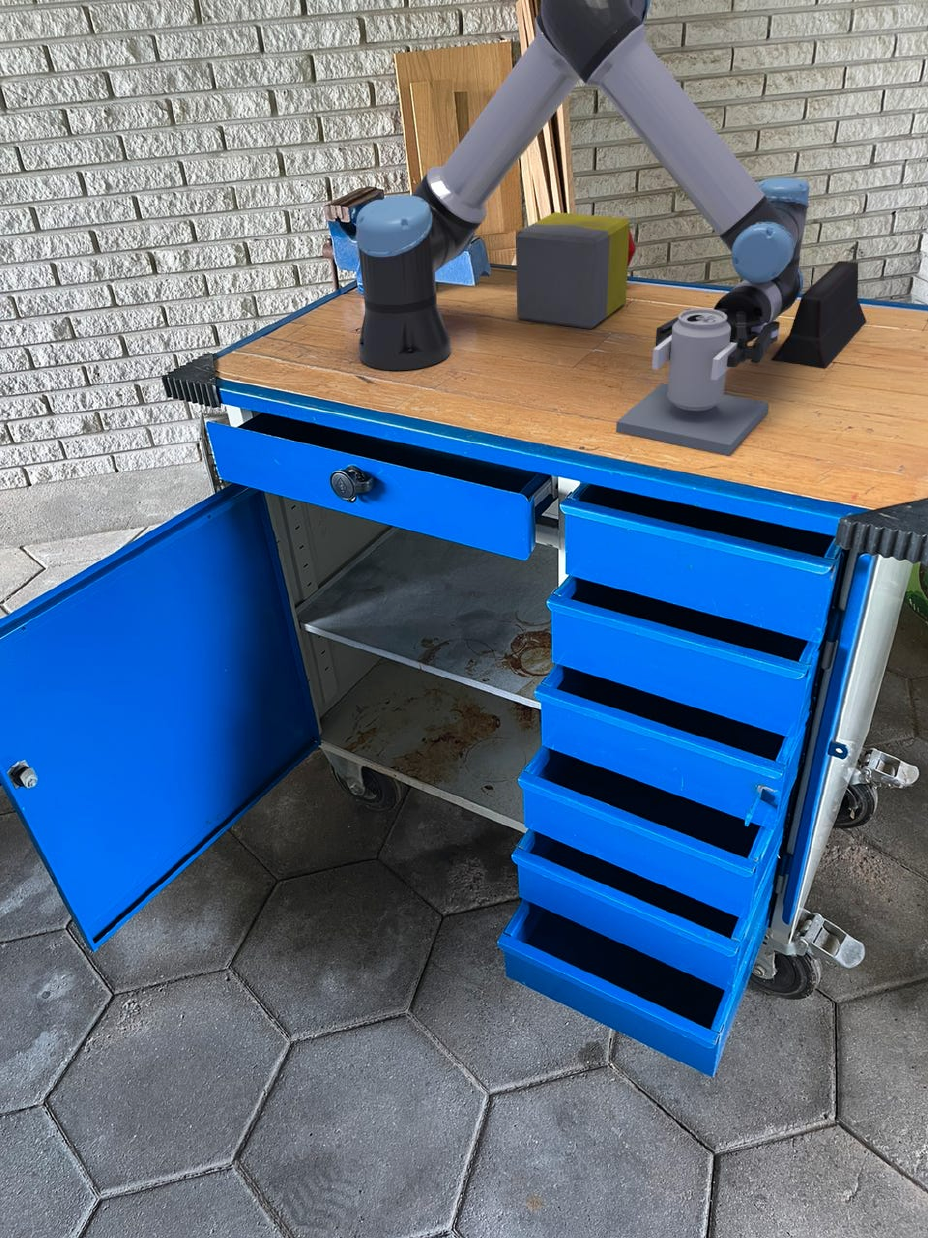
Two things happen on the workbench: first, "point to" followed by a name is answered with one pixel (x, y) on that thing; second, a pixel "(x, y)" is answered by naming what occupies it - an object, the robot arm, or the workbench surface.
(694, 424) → the slate board
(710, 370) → the can
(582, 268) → the emergency stop button
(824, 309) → the barrier
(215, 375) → the workbench surface
